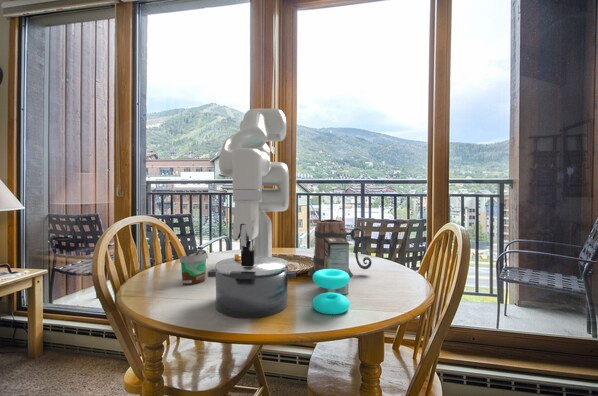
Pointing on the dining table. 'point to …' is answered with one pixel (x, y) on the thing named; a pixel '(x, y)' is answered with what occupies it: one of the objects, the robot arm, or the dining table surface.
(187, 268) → the food container
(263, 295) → the cooking pot
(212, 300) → the dining table surface
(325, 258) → the coffee box
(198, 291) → the dining table surface
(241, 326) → the dining table surface
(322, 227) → the tankard
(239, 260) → the pot lid
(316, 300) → the donuts
